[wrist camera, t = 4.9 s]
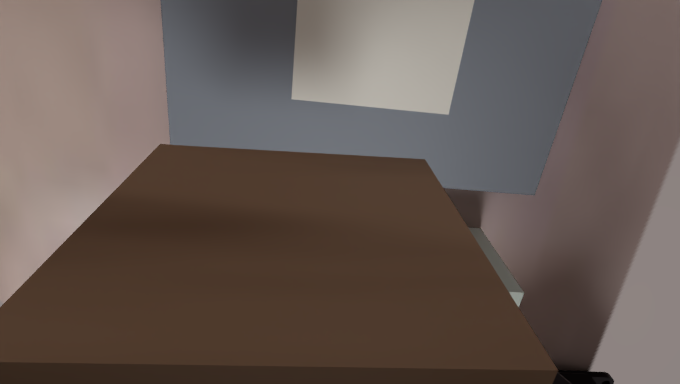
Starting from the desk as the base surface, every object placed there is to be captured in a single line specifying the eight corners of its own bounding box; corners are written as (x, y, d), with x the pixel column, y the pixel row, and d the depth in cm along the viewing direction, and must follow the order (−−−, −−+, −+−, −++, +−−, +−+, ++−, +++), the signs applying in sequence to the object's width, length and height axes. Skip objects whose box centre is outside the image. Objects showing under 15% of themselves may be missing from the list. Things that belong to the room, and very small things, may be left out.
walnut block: (390, 347, 10) (448, 623, 6) (182, 343, 10) (74, 637, 5) (425, 159, 8) (557, 371, 4) (160, 144, 8) (-52, 360, 3)
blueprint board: (524, 186, 20) (534, 195, 19) (178, 157, 18) (171, 165, 18) (638, -157, 14) (661, -167, 13) (155, -238, 13) (142, -255, 12)
